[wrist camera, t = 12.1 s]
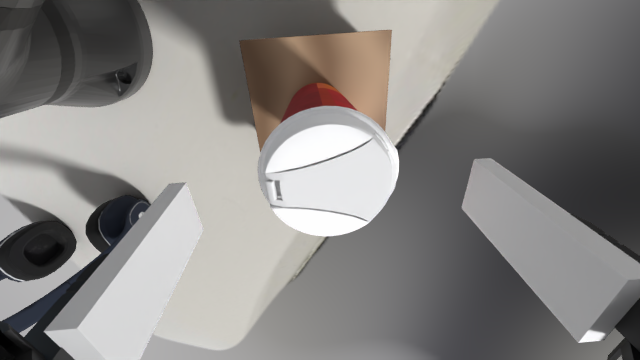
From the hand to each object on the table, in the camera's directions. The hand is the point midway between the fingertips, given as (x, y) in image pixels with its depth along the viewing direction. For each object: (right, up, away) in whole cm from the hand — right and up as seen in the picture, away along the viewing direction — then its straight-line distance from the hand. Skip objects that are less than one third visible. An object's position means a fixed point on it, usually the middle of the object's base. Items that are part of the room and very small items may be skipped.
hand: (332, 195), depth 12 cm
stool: (-1, +11, +19) cm, 22 cm away
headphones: (-34, -5, +27) cm, 43 cm away
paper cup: (-1, +7, +13) cm, 15 cm away
